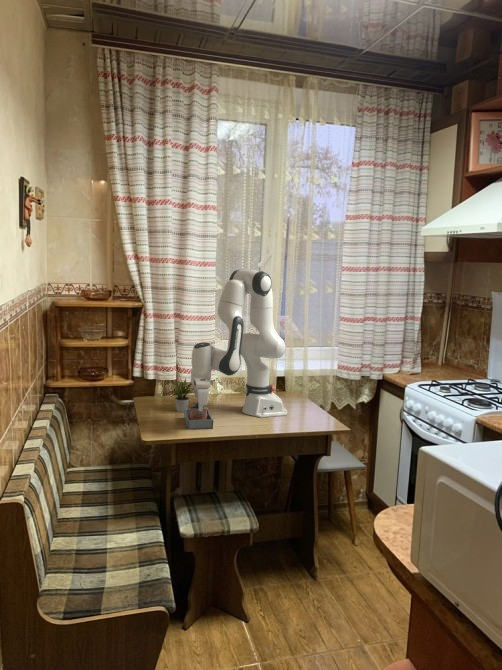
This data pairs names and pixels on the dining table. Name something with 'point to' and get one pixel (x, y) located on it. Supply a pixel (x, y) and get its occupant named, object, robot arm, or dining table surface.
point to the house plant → (182, 396)
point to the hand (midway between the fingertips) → (199, 409)
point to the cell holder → (198, 421)
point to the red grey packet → (198, 412)
